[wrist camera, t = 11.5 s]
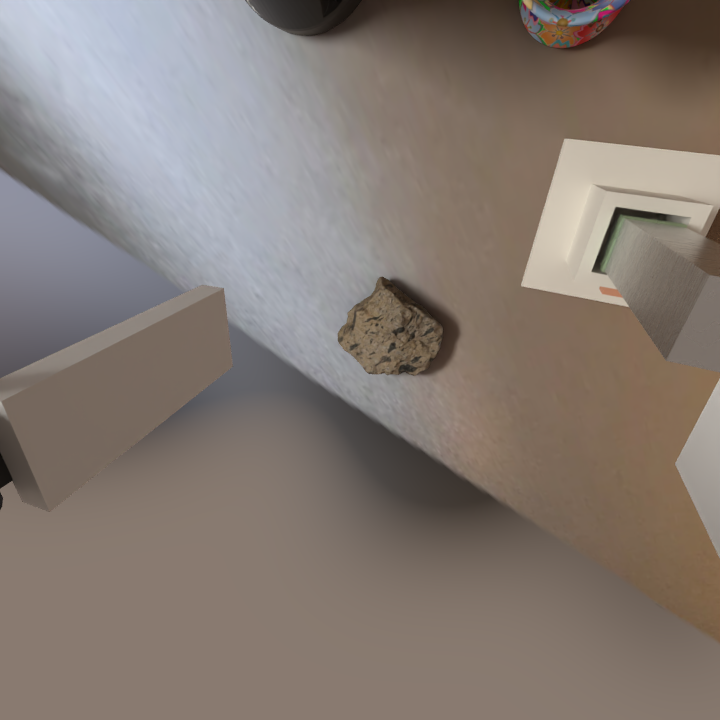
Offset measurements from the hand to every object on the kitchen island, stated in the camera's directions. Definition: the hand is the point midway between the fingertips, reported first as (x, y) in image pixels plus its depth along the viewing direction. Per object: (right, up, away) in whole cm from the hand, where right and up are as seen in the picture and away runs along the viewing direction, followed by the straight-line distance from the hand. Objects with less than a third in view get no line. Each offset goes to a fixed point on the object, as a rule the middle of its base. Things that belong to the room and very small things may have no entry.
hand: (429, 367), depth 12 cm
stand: (+23, +13, +29) cm, 39 cm away
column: (+21, +10, +23) cm, 32 cm away
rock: (+3, +4, +42) cm, 42 cm away
